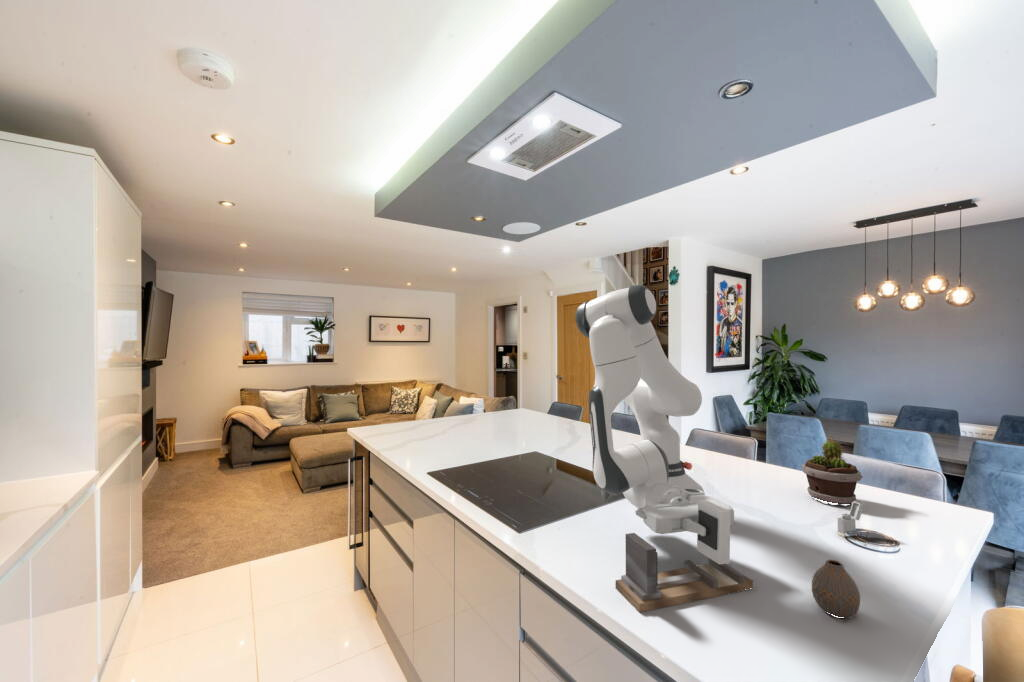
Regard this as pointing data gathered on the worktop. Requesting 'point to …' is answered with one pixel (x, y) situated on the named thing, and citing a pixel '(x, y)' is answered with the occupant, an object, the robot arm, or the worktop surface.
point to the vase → (835, 590)
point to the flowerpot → (831, 475)
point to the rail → (672, 579)
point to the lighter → (850, 518)
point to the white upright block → (714, 532)
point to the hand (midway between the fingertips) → (715, 530)
